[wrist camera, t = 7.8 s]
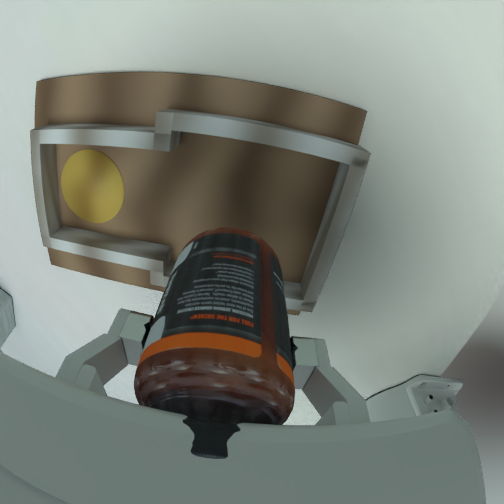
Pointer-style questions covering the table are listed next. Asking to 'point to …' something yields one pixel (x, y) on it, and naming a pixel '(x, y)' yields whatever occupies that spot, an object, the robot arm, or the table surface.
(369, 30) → the table surface
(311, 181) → the brown flat rimmed tray
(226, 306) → the supplement bottle
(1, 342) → the supplement box
